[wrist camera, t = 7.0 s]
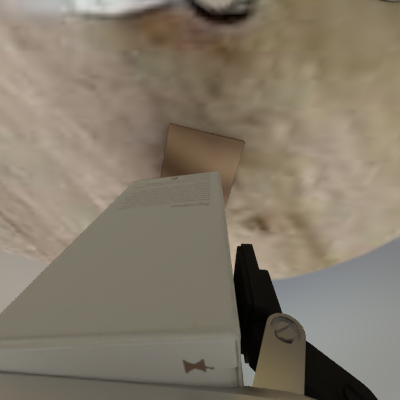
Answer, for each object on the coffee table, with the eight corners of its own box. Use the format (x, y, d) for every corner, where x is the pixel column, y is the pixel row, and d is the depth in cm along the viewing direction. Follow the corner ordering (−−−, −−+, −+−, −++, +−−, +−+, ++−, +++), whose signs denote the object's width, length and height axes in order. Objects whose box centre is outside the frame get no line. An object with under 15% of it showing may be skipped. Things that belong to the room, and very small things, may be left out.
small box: (134, 178, 14) (-52, 343, 4) (221, 168, 13) (243, 333, 4) (159, 275, 17) (87, 501, 7) (231, 271, 16) (257, 509, 7)
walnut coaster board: (170, 123, 25) (169, 124, 25) (243, 141, 26) (245, 142, 25) (157, 205, 30) (155, 208, 29) (220, 219, 30) (220, 222, 29)
